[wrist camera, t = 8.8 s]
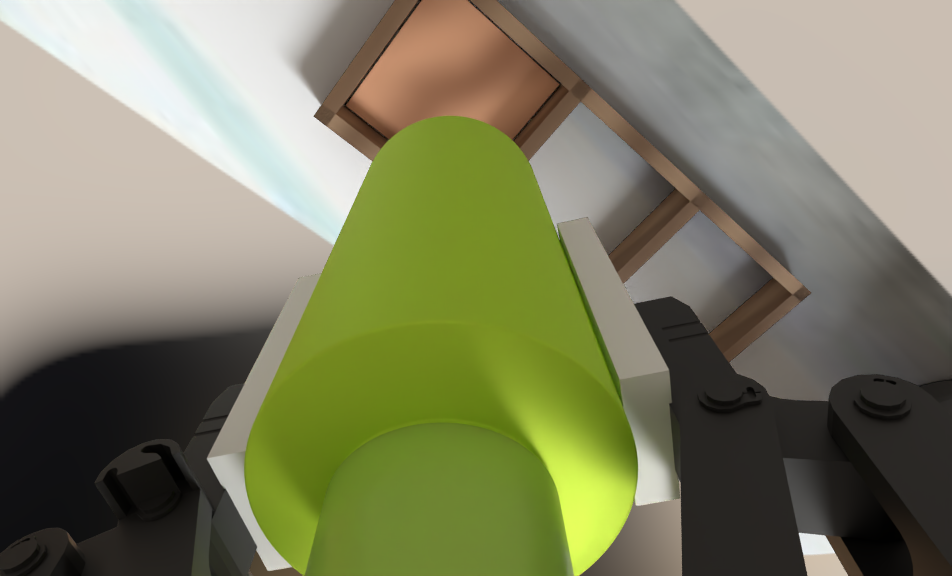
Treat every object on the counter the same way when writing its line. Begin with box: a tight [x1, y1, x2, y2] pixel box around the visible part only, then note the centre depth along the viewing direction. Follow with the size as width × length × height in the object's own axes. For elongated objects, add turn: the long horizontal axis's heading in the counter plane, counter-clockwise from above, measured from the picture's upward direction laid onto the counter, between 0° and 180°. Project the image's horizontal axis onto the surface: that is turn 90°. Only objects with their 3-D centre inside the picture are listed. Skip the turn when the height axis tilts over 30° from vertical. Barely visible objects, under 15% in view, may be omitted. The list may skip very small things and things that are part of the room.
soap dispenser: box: [244, 116, 638, 576], centre depth 12 cm, size 6×7×20 cm
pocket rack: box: [314, 0, 811, 362], centre depth 44 cm, size 36×12×3 cm, turn 50°
